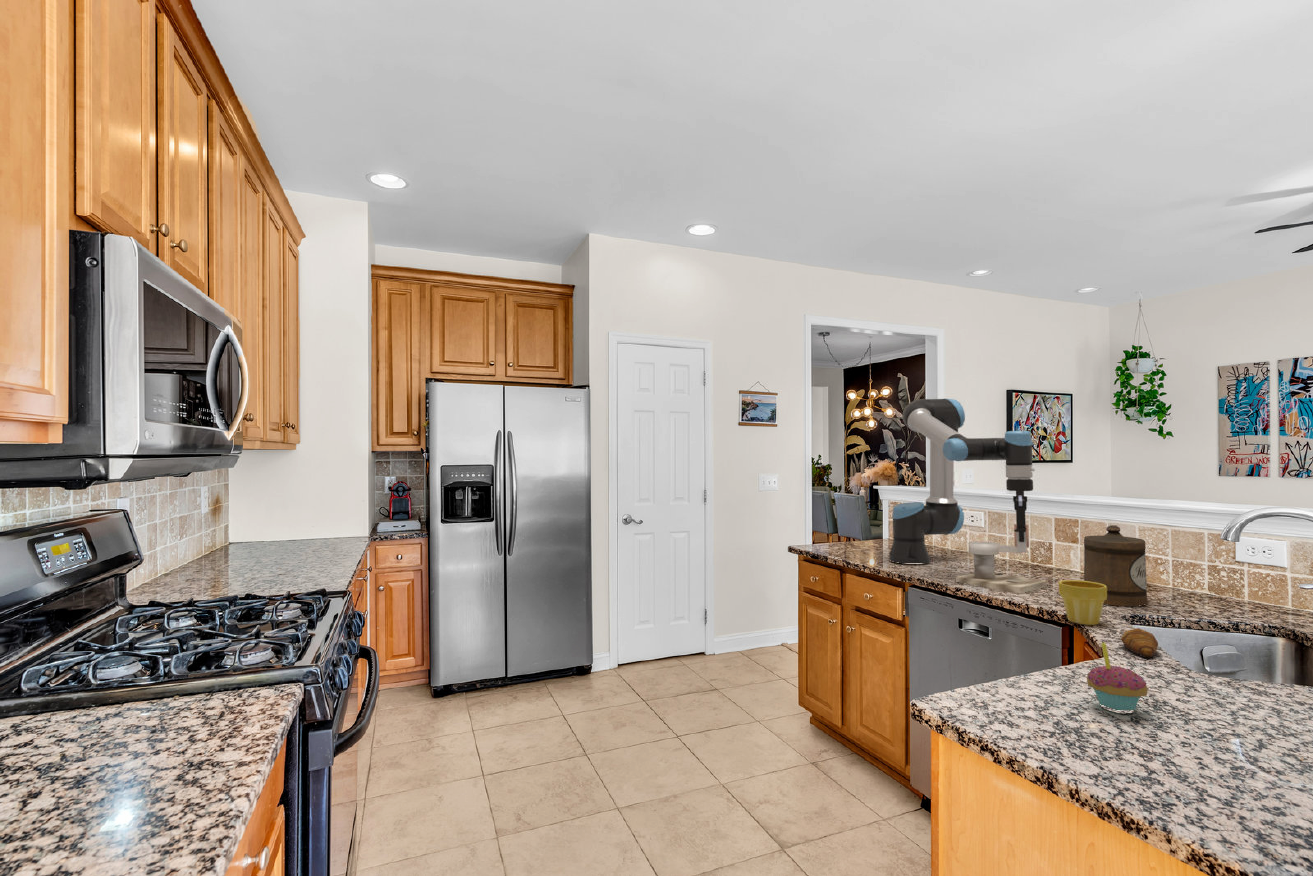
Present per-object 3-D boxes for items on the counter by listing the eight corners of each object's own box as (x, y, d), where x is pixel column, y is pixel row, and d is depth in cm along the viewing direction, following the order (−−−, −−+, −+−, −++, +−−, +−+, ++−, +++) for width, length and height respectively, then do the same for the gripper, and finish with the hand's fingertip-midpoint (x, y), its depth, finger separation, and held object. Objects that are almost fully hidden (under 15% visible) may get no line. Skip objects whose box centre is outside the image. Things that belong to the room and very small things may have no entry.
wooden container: (1153, 609, 175) (1150, 529, 176) (1088, 604, 182) (1086, 527, 182) (1141, 597, 188) (1138, 523, 189) (1081, 593, 195) (1079, 521, 196)
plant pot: (1093, 616, 169) (1091, 579, 169) (1117, 627, 158) (1116, 588, 159) (1051, 616, 170) (1050, 579, 170) (1073, 627, 160) (1072, 587, 160)
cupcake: (1103, 718, 106) (1101, 646, 107) (1077, 698, 115) (1075, 631, 115) (1160, 720, 105) (1157, 647, 105) (1129, 700, 114) (1127, 632, 114)
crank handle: (967, 553, 209) (966, 524, 210) (970, 549, 217) (969, 521, 217) (1028, 557, 200) (1028, 526, 201) (1029, 553, 208) (1028, 523, 208)
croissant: (1168, 662, 133) (1167, 638, 133) (1129, 658, 136) (1128, 635, 136) (1148, 643, 146) (1148, 621, 146) (1113, 640, 148) (1112, 619, 148)
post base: (956, 582, 213) (955, 552, 213) (983, 576, 222) (982, 548, 222) (1020, 594, 196) (1019, 561, 196) (1047, 587, 204) (1046, 556, 204)
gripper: (1033, 479, 197) (1036, 555, 196) (1032, 477, 212) (1034, 548, 211) (1006, 479, 200) (1008, 554, 200) (1006, 477, 215) (1008, 546, 215)
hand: (1021, 550), depth 205 cm, fingers closed on crank handle, 4 cm apart
